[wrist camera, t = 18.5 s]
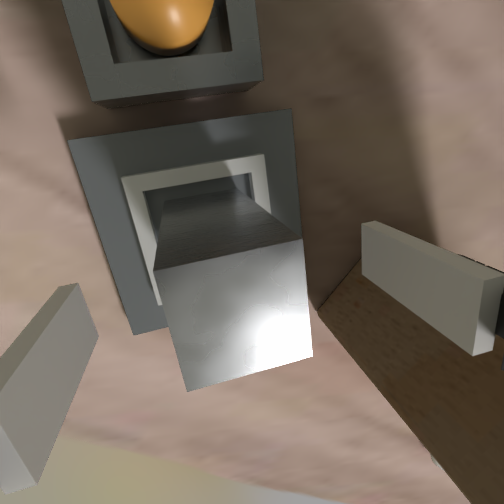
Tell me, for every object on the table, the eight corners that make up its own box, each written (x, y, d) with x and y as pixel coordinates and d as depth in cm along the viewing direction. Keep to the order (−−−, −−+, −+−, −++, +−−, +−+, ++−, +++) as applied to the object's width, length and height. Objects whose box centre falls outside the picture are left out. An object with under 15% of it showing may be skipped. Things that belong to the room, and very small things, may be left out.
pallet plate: (285, 109, 22) (296, 106, 20) (301, 286, 27) (311, 297, 25) (73, 140, 19) (61, 140, 17) (135, 326, 24) (131, 343, 22)
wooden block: (313, 312, 28) (573, 634, 10) (386, 223, 27) (845, 407, 8) (380, 355, 32) (657, 645, 14) (446, 280, 31) (853, 490, 12)
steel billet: (236, 187, 21) (302, 238, 10) (247, 253, 23) (312, 355, 12) (164, 201, 21) (152, 271, 10) (180, 268, 22) (187, 392, 12)
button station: (225, -89, 17) (238, -149, 14) (247, 90, 21) (263, 80, 17) (52, -84, 16) (16, -150, 12) (107, 108, 19) (91, 101, 16)
